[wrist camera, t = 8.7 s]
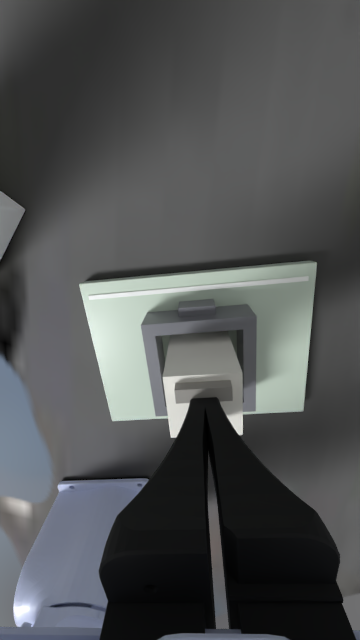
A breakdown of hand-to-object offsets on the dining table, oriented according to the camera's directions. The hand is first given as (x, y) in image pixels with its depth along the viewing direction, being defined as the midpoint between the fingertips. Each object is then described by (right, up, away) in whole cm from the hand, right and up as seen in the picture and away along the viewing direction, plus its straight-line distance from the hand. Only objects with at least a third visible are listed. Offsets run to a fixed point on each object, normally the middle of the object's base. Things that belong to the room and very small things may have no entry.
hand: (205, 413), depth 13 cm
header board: (0, +3, +7) cm, 8 cm away
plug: (0, +2, +6) cm, 7 cm away
